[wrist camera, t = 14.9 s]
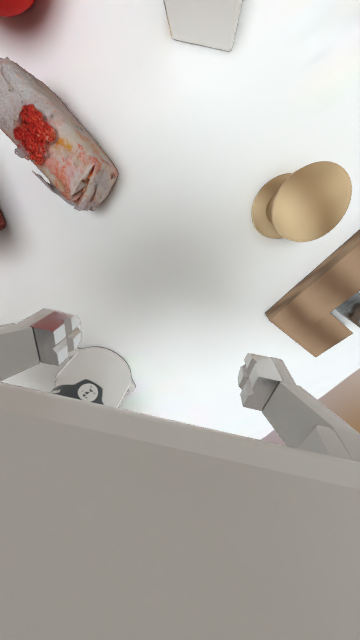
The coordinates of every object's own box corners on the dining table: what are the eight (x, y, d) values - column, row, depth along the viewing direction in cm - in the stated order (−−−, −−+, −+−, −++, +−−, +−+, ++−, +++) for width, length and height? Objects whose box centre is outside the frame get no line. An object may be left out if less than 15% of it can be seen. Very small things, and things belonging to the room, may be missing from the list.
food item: (129, 174, 29) (95, 156, 20) (100, 215, 32) (60, 215, 24) (52, 83, 26) (-29, 16, 17) (28, 140, 29) (-49, 108, 20)
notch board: (308, 347, 38) (315, 357, 36) (264, 312, 36) (269, 320, 34) (425, 267, 29) (446, 272, 27) (376, 214, 27) (394, 214, 24)
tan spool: (277, 248, 31) (303, 261, 22) (240, 215, 29) (252, 215, 21) (323, 201, 27) (376, 194, 18) (283, 160, 26) (320, 131, 17)
